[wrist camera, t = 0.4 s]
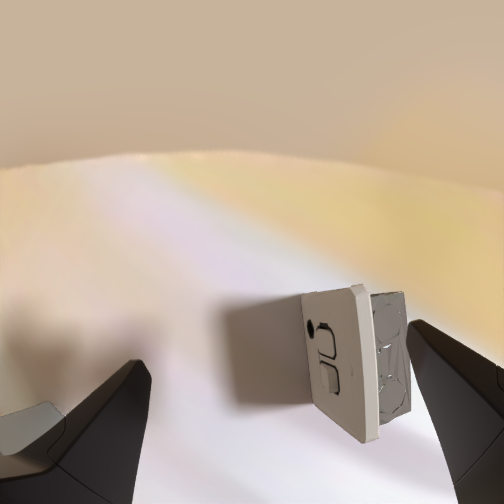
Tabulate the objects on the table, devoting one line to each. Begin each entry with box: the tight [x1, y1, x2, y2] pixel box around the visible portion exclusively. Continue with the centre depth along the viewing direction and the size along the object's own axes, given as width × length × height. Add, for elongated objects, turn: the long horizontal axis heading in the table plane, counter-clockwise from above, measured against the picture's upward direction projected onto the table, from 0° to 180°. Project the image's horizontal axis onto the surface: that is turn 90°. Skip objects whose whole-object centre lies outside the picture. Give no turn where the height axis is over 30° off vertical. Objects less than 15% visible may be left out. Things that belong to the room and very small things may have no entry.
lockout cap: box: [0, 401, 64, 455], centre depth 19 cm, size 5×5×12 cm
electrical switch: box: [301, 284, 411, 443], centre depth 18 cm, size 9×5×9 cm, turn 7°
